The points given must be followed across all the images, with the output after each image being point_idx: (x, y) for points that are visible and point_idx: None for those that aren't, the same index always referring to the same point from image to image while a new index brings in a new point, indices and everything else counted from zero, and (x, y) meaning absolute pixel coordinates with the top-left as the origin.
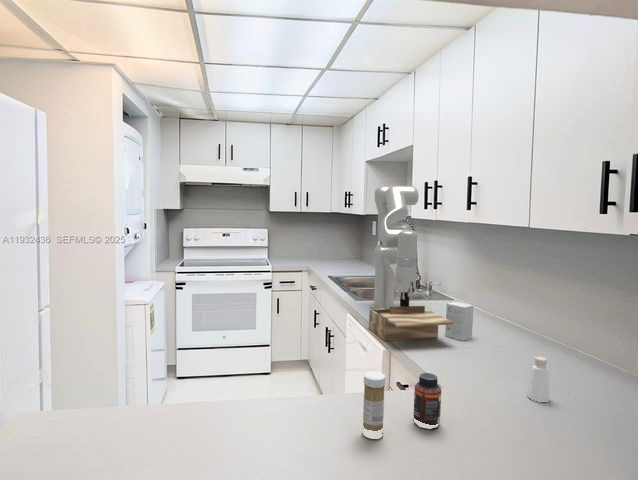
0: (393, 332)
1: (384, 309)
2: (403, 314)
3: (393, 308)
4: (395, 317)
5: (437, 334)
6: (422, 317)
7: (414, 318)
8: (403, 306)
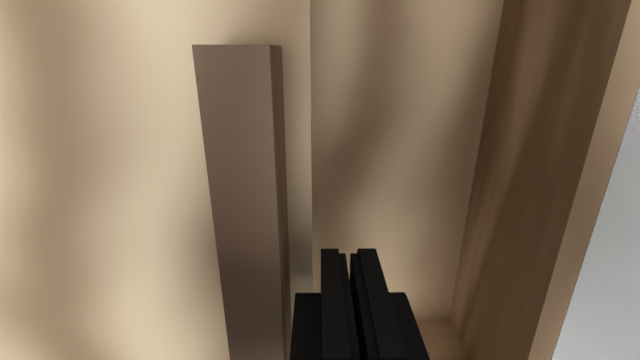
0: None
1: (602, 120)
2: (203, 204)
3: (203, 87)
4: (38, 28)
5: None
6: (79, 336)
7: (26, 248)
8: (270, 282)
